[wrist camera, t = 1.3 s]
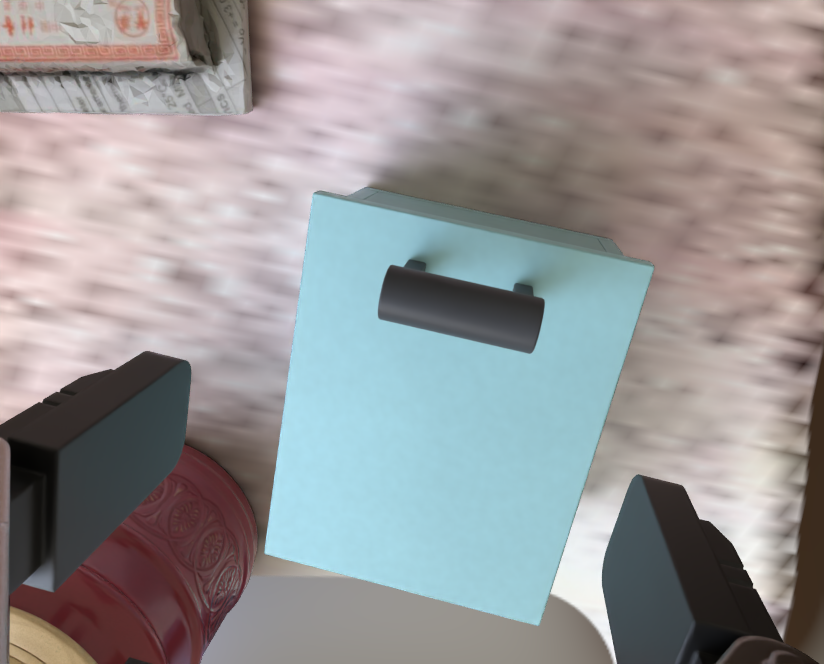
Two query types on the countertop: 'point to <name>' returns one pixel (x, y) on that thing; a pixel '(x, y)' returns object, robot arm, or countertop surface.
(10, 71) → the packaged product
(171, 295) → the countertop surface
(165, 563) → the kitchen canister
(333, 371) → the freezer lid
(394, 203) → the box
